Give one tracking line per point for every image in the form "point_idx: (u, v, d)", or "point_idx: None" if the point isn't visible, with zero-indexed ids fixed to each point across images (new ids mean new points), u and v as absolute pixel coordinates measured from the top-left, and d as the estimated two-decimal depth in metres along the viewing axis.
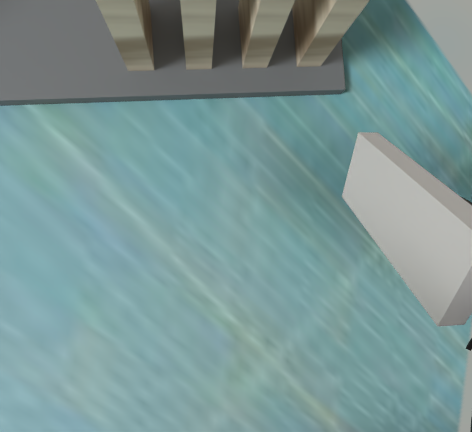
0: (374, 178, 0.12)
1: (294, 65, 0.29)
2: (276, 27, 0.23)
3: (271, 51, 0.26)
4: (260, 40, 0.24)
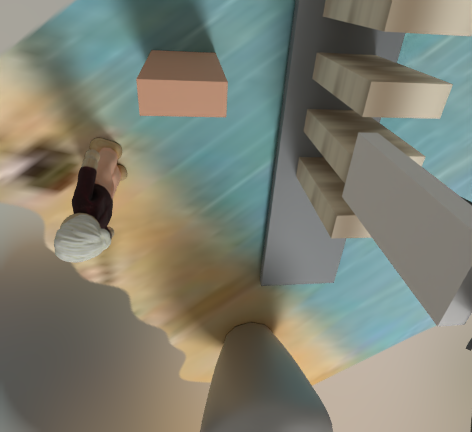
0: (374, 178, 0.12)
1: None
2: None
3: None
4: None
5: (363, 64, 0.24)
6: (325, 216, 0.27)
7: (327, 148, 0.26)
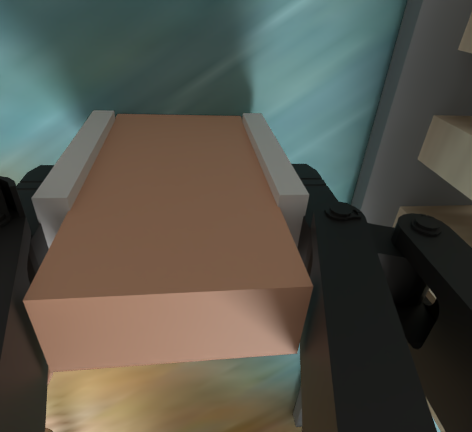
0: None
1: None
2: None
3: None
4: None
5: None
6: None
7: None
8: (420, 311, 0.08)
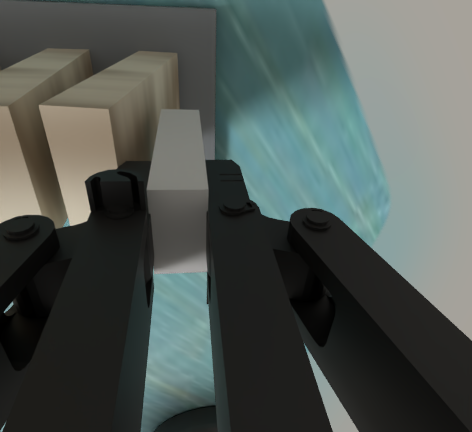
0: None
1: None
2: None
3: None
4: None
5: None
6: None
7: None
8: (324, 304, 0.08)
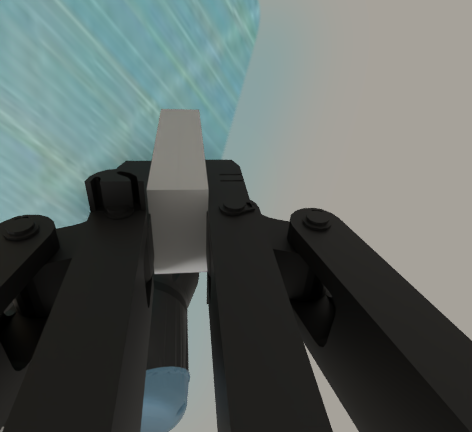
0: None
1: None
2: None
3: None
4: None
5: None
6: None
7: None
8: (324, 305, 0.08)
